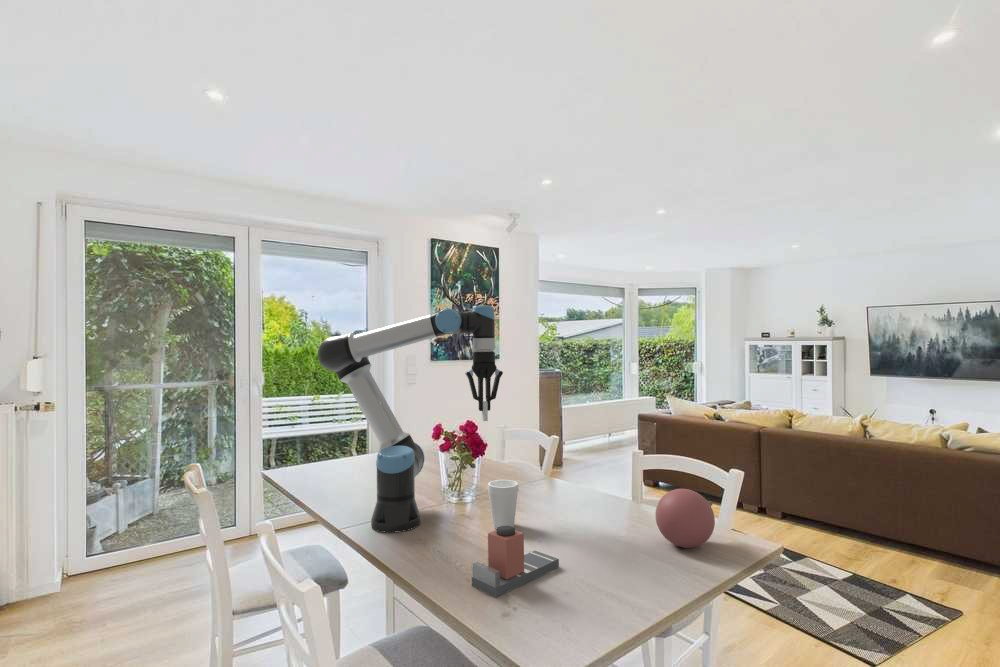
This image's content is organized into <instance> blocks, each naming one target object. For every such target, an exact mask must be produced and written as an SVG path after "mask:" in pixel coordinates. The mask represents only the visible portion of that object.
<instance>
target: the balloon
mask: <svg viewBox="0 0 1000 667" xmlns="http://www.w3.org/2000/svg"><path fill="white" fill-rule="evenodd" d="M712 506H713V502H711V501H708V500H707V499H706V498H705V497H704V496H703V495H702V494H700V493H699V492H697V491H694V490H692V489H688V488H675V489H673V490H669V491H668V492H666V493H665V494H664V495H662V497H661V498H660V499H659V501H658V502H657V505H656V509H655V522H656V525H657V528H658V530H659V532H660V533H661V535H662V536H663V538H665V539H666V541H668V542H670V543H671V544H673V545H674V546H677V547H681V548H684V549H685V548H686V549H689V548H690V549H691V548H692V549H693V548H697V547H699V546H701V545H704V544H705V543H706V542H707V541H709V539H710V538H711V537H712V534H713V533H714V529H715V525H716V518H715V513H714V510H713V508H712Z"/></svg>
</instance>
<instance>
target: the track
mask: <svg viewBox="0 0 1000 667" xmlns="http://www.w3.org/2000/svg"><path fill="white" fill-rule="evenodd" d="M471 566H472V567H471V568H472V570H471V571H472V575H471V576H472V577H471V586H472V587H473V588H475V589H478V590H480V591H481V592H484V593H485V594H488V595H491V596H492V597H494V598H497V597H500V596H502V595H503V594H504V595H505V594H506V593H508V592H510V591H513V590H514V589H516V588H518V587H520V586H523V585H524V584H526V583H529V582H531V581H533V580H535V579H537V578H539V577H541V576H544V575H545V573H546V574H547V572H548V573H549V571H550V572H552V571H554V570H556V569H557V568H559V567H560V561H559V558H557V557H554V556H551V555H549V554H546V553H543V552H540V551H538V550H532V551H529V552H528V553H526V554H525V553H524V572H522V573H520V574H518V575H515V576H513V577H511V578H509V579H507V580H506V579H504V578H502V577H500V571H498V570H496V569H494V568H491V567H489V566H488V564H487V565H486V564H484V563H481V562H479V561H475V562H472V564H471ZM551 570H552V571H551Z"/></svg>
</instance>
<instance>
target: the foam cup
mask: <svg viewBox="0 0 1000 667" xmlns="http://www.w3.org/2000/svg"><path fill="white" fill-rule="evenodd" d="M518 492H519V482H518V481H515V480H513V479H511V480H510V479H496V480H492V481H489V482H487V493H488V498H489V504H490V511H491V512H490V513H491V519H492V520H491V521H492V526H493V528H494V527H495V528H494V529H496V528H498V527H500V526H512V527H513V526H514V527H515V520H516V511H517V503H518V502H517V501H518V494H519V493H518Z"/></svg>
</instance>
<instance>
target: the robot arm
mask: <svg viewBox="0 0 1000 667" xmlns="http://www.w3.org/2000/svg"><path fill="white" fill-rule="evenodd" d="M495 321H496V319H495V308H494V307H493V306H491V305H486V304H485V305H482V304H479V305H473V306H472V310H471V311H457V310H456V309H453V308H443V309H441V310H440V311H438V312H434V313H430V314H426V315H422V316H419V317H415V318H411V319H408V320H406V321H401V322H397V323H394V324H390V325H387V326H383V327H381V328H380V327H379V328H376V329H373V330H370V331H366V332H361V333H358V334H355V333H352V332H351V333H350V332H349V333H347V334H346V333H345V334H341V335H334V336H330V337H327V338H326V339H324V340H323V341H322V342H321V344H320V345H319V347H318V350H317V359H318V361H319V363H320V365H321V366H322V367H323V368H324V369H325V370H328V371H330V372H334V373H335V375H336V376H337V378H338V380H339V381H340V382H342V383H345V384H346V385H347V386H348V388H349V389H350V392H351V393H352V396H353V397H354V399H355V401H356V403H357V405H358V406H359V408H360V410H361V411H362V413H363V415H364V417H365V418H366V421H367V422H368V424H369V426H370V428H371V430H372V432H373V433H374V435H375V437H376V438H377V441H378V443H379V445H380V447H379V452H378V453H377V455H376V461H375V463H376V464H375V465H376V502H375V506H374V510H373V512H372V515H371V520H370V521H371V523H370V524H371V526H372V527H371V528H372V529H373V528H374V529H375V531H377V530H378V531H377V532H381V531H385V532H384V533H396V532H395V531H401V532H404V531H403V530H406V531H409V530H408V529H410V530H412V529H411V528H413V529H415V528H417V527H419V526H420V524H421V514H420V511H419V507H418V505H417V502H416V498H415V488H416V487H415V479H416V477H417V476H418V475H419V474H420V472H421V471H422V469H423V467H424V464H425V453H424V450H423V449H422V447H421V446H420V445H419V444H418V443H416V442H415V441H414V439H413V437H412V435H411V434H410V433H409V432H406V431H403V429H402V426H401V425H400V424H399V422H398V420H397V417H395V414H394V412H393V410H392V409H391V407H390V404H388V402H387V400H386V398H385V397H384V394H383V392H382V391H381V389H380V388H379V385H378V383H377V381H376V380H375V378H374V377H373V375H372V373H371V367H372V364H371V362H370V360H369V358H368V357H370V356H375V355H377V354H381V353H384V352H387V351H388V352H389V351H391V350H396V349H398V348H403V347H405V346H406V347H407V346H409V345H413V344H417V343H419V342H423V341H427V340H430V339H434V338H438V337H441V336H445V335H465V334H466V335H467V334H468V335H469V334H472V351H473V352H472V366H471V369H470V370H468V371H465V375H466V377H467V379H468V384H469V387H470V391H471V396H472V399H473V400H476V401H478V410H479V411H480V412H481V421H482V422H488V417H489V416H488V415H489V413H488V411H491V402H492V401H493V400H496V398H497V393H498V389H499V385H500V380H501V378H502V375H503V374H504V371H502V370H500V369H498V368H497V365H496V352H495V350H496V348H495V347H496V345H495V344H496V343H495V342H496V340H495V336H496V334H495V332H496V330H495V327H496V326H495ZM474 374H475V376H476V377H477V389H476V384H475V380H474V377H473V376H474ZM493 375H494V376H495V377H494V381H493V385H492V384H491V382H492V377H493ZM484 381H485V386H484ZM491 386H492V388H491ZM484 387H485V388H484ZM484 389H485V400H484ZM416 526H417V527H416ZM414 527H415V528H414ZM374 529H373V530H374Z"/></svg>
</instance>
